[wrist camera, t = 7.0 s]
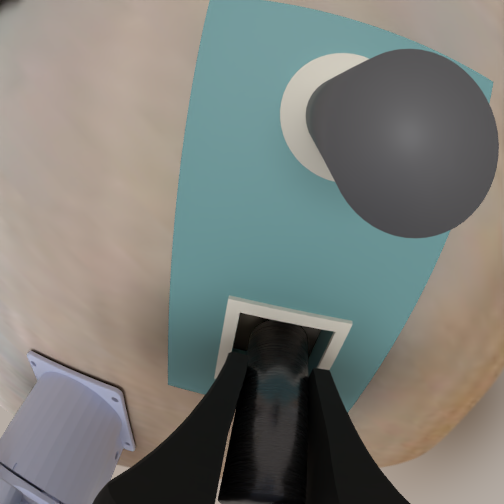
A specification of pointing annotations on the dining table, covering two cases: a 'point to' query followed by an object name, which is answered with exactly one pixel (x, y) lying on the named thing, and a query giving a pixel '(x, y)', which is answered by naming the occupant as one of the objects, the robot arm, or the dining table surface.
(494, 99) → the dining table surface
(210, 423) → the robot arm
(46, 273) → the dining table surface
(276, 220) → the pin board
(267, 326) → the pin
